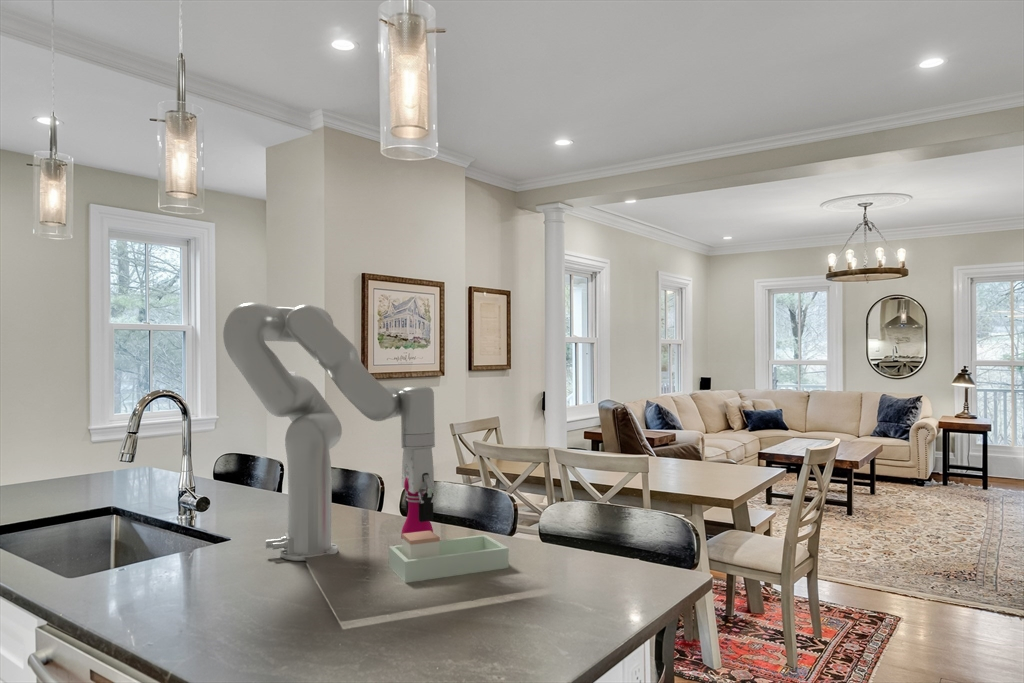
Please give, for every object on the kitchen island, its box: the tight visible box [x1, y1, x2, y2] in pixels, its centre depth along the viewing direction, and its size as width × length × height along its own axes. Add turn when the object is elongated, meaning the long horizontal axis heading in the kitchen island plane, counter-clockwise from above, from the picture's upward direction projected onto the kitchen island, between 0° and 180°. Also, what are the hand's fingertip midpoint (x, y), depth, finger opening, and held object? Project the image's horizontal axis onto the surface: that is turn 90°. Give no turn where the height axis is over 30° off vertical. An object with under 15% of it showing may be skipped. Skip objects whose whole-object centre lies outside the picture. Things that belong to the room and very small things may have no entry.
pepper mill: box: [400, 478, 434, 539], centre depth 152 cm, size 7×7×20 cm
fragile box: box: [401, 531, 441, 560], centre depth 137 cm, size 6×6×7 cm
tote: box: [388, 534, 510, 584], centre depth 139 cm, size 22×12×5 cm, turn 115°
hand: (419, 516), depth 152 cm, fingers open, 9 cm apart
